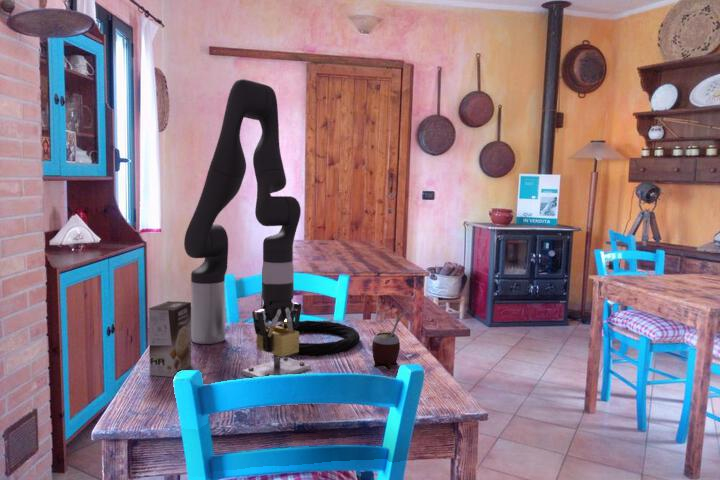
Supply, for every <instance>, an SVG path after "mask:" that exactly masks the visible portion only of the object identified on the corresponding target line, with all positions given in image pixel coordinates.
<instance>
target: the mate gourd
mask: <svg viewBox="0 0 720 480" xmlns="http://www.w3.org/2000/svg"><path fill="white" fill-rule="evenodd" d="M409 312H410V311H409V310H406V311H404V312H403V313H402V314H400V315H399V316H398V317H397V318H396V320H395V322H394V323H395V324H394V327H393V328H392V332H378V333H377V334H375V335H374V337H373V338H372V344H371V350H372V358H373V362H374V364H373V367H374V368H381V367H382V368H383V367H384V368H386V369H387V370H388V371H390V370H392V367H395V366H398V362H397V360H398V358H399V354H400V350H401V349H400V348H401V344H400V339H399V336H397V334H395V332H396V329H397V326H398V324H399V322H400V321H401V318H402V317H403V316H405V315H406V314H407V313H409Z"/></svg>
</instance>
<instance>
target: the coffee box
mask: <svg viewBox="0 0 720 480" xmlns="http://www.w3.org/2000/svg"><path fill="white" fill-rule="evenodd" d="M191 306H192V302H189V301H178V300H177V301H170V300H169V301H168V300H167V301H165V302H162V303H159V304H157V305H155V306H152V307H149V308H148V320H149V321H148V327H149V328H148V331H149V333H148V334H149V336H148V337H149V340H148V342H149V343H148V344H149V346H148V347H149V352H148V353H149V356H148V357H149V361H148V362H149V376H153V377H154V376H155V377H169V378H173V377H175V376H174V375H175V374H176V373H177V372H179V371H181V370H183V371H185V370H187V369H188V368H189V367H190V366H192V339H191Z"/></svg>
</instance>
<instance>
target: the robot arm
mask: <svg viewBox="0 0 720 480" xmlns="http://www.w3.org/2000/svg"><path fill="white" fill-rule="evenodd" d="M277 99H278V98H277V95H276V92H275V90H274V88H272V86H269V85H267V84H264V83H260V82H256V81H255V80H254V81H253V80H250V79H245V78H238V79H236V81H234V83H233V84H232V87H231V88H230V90H229V94H228V98H227V101H226V105H225V110H224V117H223V120H222V124H221V129H220V132H219V137H218V141H217V144H216V146H215V150H214V152H213V156H212V159H211V161H210V164H209V167H208V170H207V174H206V178H205V182H204V185H203V188H202V191H201V194H200V197H199V199H198V203H197V205H196V208H195V210H194V212H193V215H192V217H191V220H190V222H189V224H188V226H187V228H186V231H185V235H184V243H183V244H184V245H183V247H184V250H185V253H186V255H187V256H188V257H190V258H192V259H204V261H203V262H202V264H200V266H198V267H197V268H195V269H193V270H192V272H191V273H190V279H191V280H190V286H191V288H190V289H191V290H190V291H191V294H190V295H191V343H194V344H199V345H200V344H201V345H208V344H209V345H212V344H213V345H214V344H217V343H222V342H223V341H225V340H226V330H225V329H226V288H225V287H226V286H225V285H226V281H225V279H226V273H227V272H228V271H227V270H228V258H229V235H228V233H227V230H226V229H225V228H224V226H222V225H221V224H217V223H215V221H216V219H217V217H218V216H219V215H220V214H221V212H222V211H223V210H224V209H225V207H227V206H228V205H229V203H231V202H232V201H233V199H234V198H235V197H236V196H237V195H238V193H239V191H240V189H241V186H242V183H243V180H244V178H245V175H246V170H247V161H246V157H245V153H244V150H243V146H242V143H241V136H240V134H241V129H242V128H241V127H242V124H243V120H244V118H245V119H250V120H256V121H259V124H260V127H261V135H260V138H259V140H258V143H257V145H256V147H255V149H254V153H253V157H252V164H253V170H254V175H255V180H256V186H257V187H256V189H257V191H256V202H255V209H254V210H255V214H254V215H255V218H256V220H257V221H258V223H259V224H260V225H262V226H263V227H281V228H280V230H279V232H278V233H276V234H273V235H270V236H267V237H265V238H264V239H263V242H262V268H261V299H262V301H263V305H262V307H261V309H259V310H252V312H251V313H252V319H253V327H254V332H255V334H256V335H257V334H258V335H261V336H263V349H264V351H263V352H265V351H266V352H265V353H268V352H272V337H271V336H272V333H273V329H274V328H275V327H276V326H277V325H278V323H281V324H282V327H284V328H288V329H291V330H293V329H294V328H295V327H296V328H297V327H298V326H299V321H301V320H300V319H301V311H302V303H300V302H299V303H298V302H294V301H293V299H294V298H295V297H294V292H295V291H294V290H295V289H294V288H295V287H294V286H295V284H294V283H295V282H294V278H295V277H294V276H295V275H294V274H295V272H294V270H295V269H294V263H293V262H294V259H293V258H294V256H293V254H294V241H295V237H296V233H297V228H298V225H299V222H300V220H301V219H300V218H301V212H302V211H301V209H302V208H301V206H300V202H299V201H298V199H297V198H296V197H294V196H290V195H289V196H288V195H282V196H281V195H274V196H273V195H271V194H273V193H277V192H280V191H282V190H283V189H284V188H286V185H287V177H286V173H285V168H284V167H285V166H284V165H283V164H284V163H283V159H282V155H281V154H282V153H281V148H280V146H281V145H280V131H279V130H280V128H279V125H280V124H279V113H278V112H279V111H278V109H279V108H278V100H277ZM292 301H293V302H292ZM268 327H269V329H268ZM267 330H268V331H267Z"/></svg>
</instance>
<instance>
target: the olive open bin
mask: <svg viewBox="0 0 720 480" xmlns="http://www.w3.org/2000/svg"><path fill="white" fill-rule="evenodd" d="M268 329H269V327H268ZM267 331H268V330H267ZM271 337H272V352H266V351H264V349H263V336H261V335H258V334H256V349H257V350H259V351H263V352H265V353H269V354H272V355H273V356H274V355H278V356H281V357H283V358H284V356H287V355H289V356H290V354H293V353H297V352H299V343H300V333H299V331H295V330H291V329H288V328H284V327H280V326H277V325H276V327H275V328H274V329H273V333H272V336H271Z"/></svg>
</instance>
